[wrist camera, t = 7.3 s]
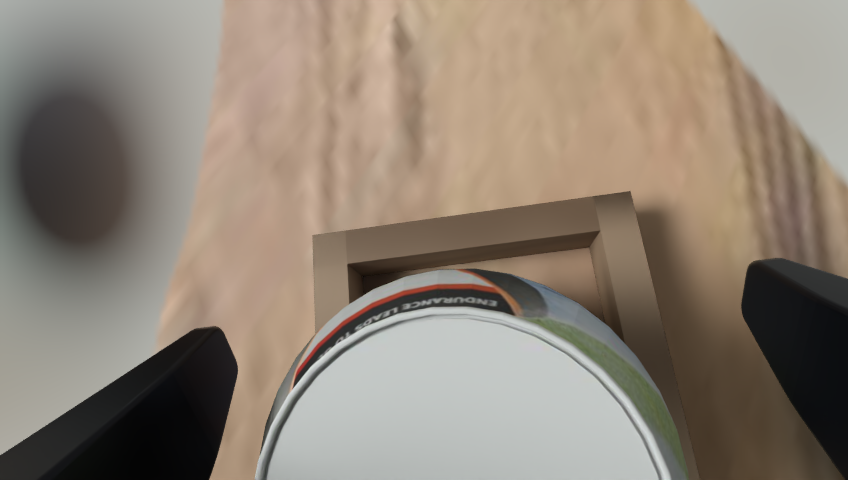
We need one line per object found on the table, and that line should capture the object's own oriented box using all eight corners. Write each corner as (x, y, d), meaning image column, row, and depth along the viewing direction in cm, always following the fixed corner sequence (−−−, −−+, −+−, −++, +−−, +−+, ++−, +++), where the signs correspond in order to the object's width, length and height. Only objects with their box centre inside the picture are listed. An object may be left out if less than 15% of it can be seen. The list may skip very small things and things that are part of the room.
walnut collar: (701, 586, 14) (733, 616, 13) (345, 606, 16) (324, 636, 14) (615, 211, 18) (630, 191, 16) (330, 250, 19) (312, 235, 17)
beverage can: (539, 278, 18) (607, 83, 6) (612, 499, 15) (922, 817, 4) (374, 323, 18) (160, 216, 7) (420, 544, 16) (213, 943, 4)
